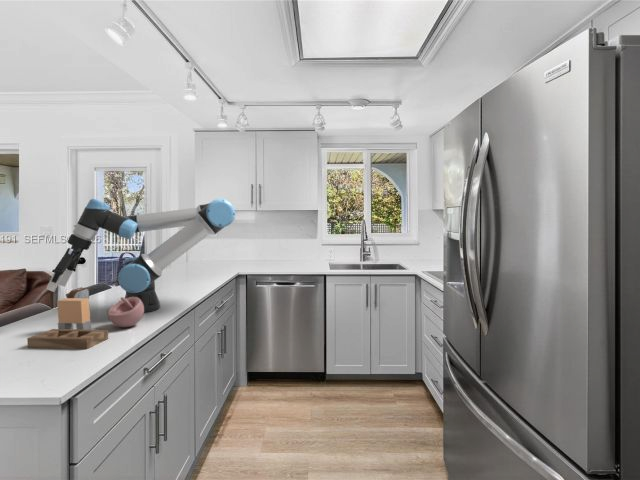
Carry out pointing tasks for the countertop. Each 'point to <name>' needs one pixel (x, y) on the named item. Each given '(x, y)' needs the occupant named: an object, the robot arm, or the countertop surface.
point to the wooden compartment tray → (68, 338)
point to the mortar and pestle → (126, 312)
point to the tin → (79, 293)
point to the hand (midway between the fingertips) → (55, 287)
